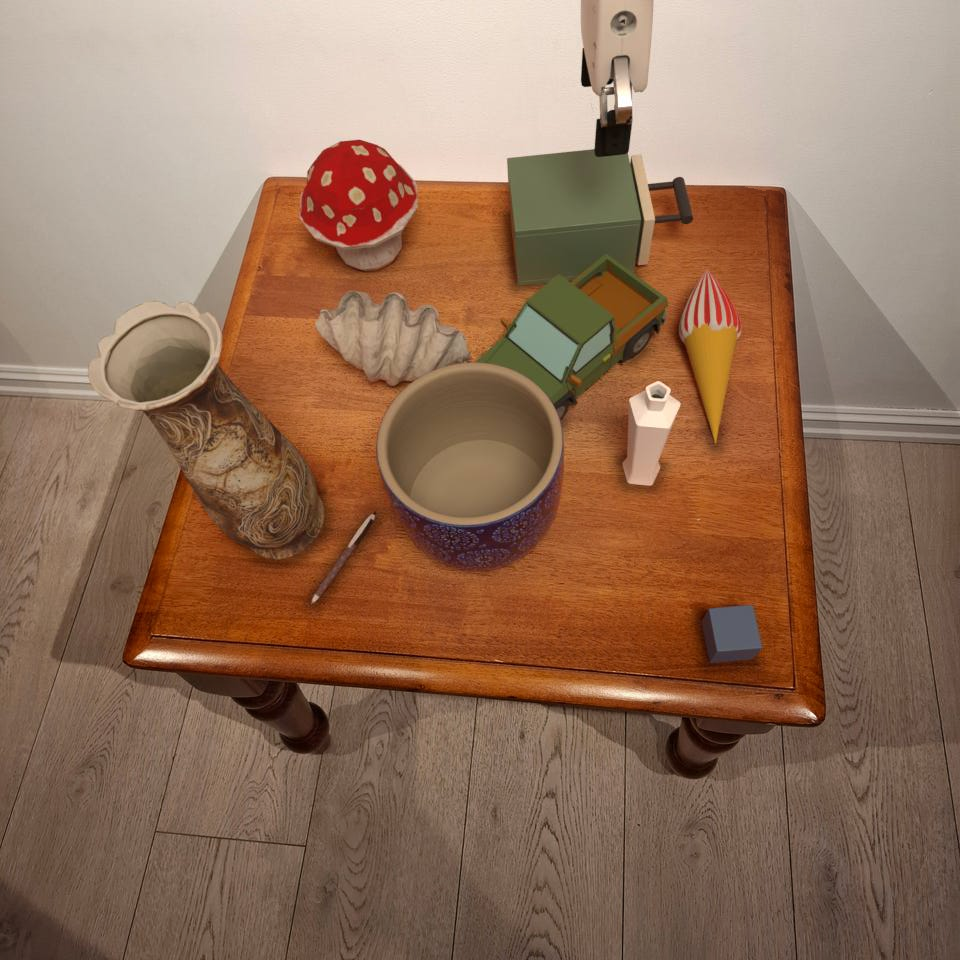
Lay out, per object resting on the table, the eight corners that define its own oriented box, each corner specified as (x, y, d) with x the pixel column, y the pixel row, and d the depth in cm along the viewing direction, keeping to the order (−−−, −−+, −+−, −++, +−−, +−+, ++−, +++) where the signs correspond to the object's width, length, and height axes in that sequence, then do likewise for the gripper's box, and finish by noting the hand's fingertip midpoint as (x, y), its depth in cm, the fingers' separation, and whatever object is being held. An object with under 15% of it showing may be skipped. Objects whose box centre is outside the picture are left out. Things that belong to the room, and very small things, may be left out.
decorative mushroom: (413, 303, 99) (392, 209, 85) (301, 289, 101) (264, 195, 87) (439, 215, 105) (424, 114, 91) (333, 203, 107) (303, 103, 93)
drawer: (675, 197, 102) (684, 149, 95) (690, 260, 98) (700, 214, 91) (532, 211, 103) (532, 165, 96) (540, 275, 98) (540, 230, 92)
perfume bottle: (669, 485, 86) (692, 408, 72) (627, 493, 86) (642, 417, 72) (657, 446, 88) (677, 365, 75) (616, 454, 88) (629, 374, 74)
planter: (589, 478, 87) (597, 402, 74) (514, 615, 81) (508, 559, 68) (451, 417, 91) (435, 334, 78) (370, 542, 85) (338, 476, 72)
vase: (315, 572, 84) (208, 419, 57) (215, 559, 86) (65, 404, 59) (339, 480, 89) (250, 299, 62) (244, 469, 90) (117, 287, 63)
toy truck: (464, 390, 93) (455, 336, 84) (598, 280, 98) (604, 218, 89) (536, 455, 88) (536, 405, 80) (673, 336, 94) (686, 277, 85)
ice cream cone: (698, 455, 92) (690, 286, 96) (755, 447, 88) (745, 271, 93) (673, 443, 87) (666, 266, 92) (732, 433, 83) (723, 249, 88)
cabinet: (620, 204, 103) (626, 145, 95) (633, 275, 98) (641, 218, 90) (509, 215, 104) (506, 157, 96) (517, 286, 99) (515, 231, 91)
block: (743, 617, 79) (753, 604, 76) (752, 659, 77) (762, 647, 74) (701, 621, 79) (708, 608, 76) (709, 663, 77) (717, 651, 74)
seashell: (373, 306, 99) (356, 247, 90) (479, 359, 94) (472, 303, 86) (320, 369, 95) (297, 314, 86) (427, 427, 91) (414, 375, 82)
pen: (373, 512, 87) (371, 507, 86) (379, 515, 86) (377, 511, 86) (309, 603, 83) (306, 599, 82) (315, 606, 82) (312, 603, 82)
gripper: (686, 3, 63) (657, 178, 78) (648, -128, 71) (628, 55, 86) (586, 14, 63) (576, 187, 78) (558, -118, 71) (555, 62, 86)
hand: (603, 117), depth 82 cm, fingers open, 9 cm apart
